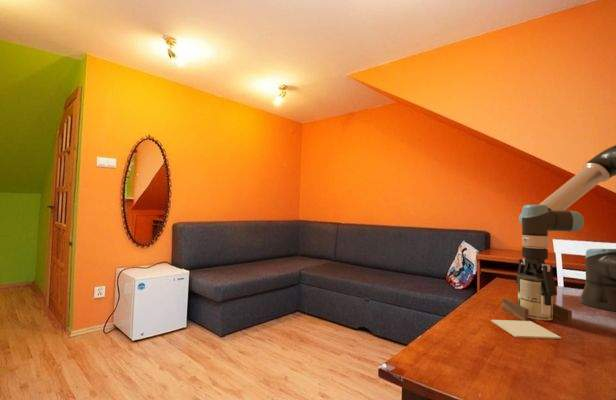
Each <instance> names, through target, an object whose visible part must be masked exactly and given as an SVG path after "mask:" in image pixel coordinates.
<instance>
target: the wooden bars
mask: <svg viewBox="0 0 616 400" xmlns="http://www.w3.org/2000/svg"><path fill="white" fill-rule="evenodd" d="M501 310H504V311H505V312H507V313H509V314H511V315H513V316H515V317H516V318H518V319H520V320H521V321H530V318H529V310H528V309H526V308H524V307H522V306H520V305H518V303H516V302H514V301H512V300H509V299H508V298H503V297H502V298H501ZM553 318H557V319H559V320H561V321H563V322H565V323H568V324H572V323H573V312H572V310H571V309H567V308H565V307H563V306H560V305H558V304H556V303H553Z"/></svg>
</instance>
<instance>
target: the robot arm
mask: <svg viewBox="0 0 616 400" xmlns="http://www.w3.org/2000/svg"><path fill="white" fill-rule="evenodd" d="M614 177H616V144H615V145H613V146H610V147H608V148H606V149H604V150H603V151H601V152H600V153H598V154H596V155H595V156H594V157H592V158H590V159H589V160H588V161H587V162H586V163H585V164H583V166H582V167H581V169H580V171H579V172H577V173H576V174H575V175H574V176H572V177H571V178H570V179H568V180H567V181H566V182H565V183H564V184H562V185H561V186H560V187H559V188H558V189H555V191H554V192H553V193H551V194H550V195H549V196H547V197H546V198H545V199H544V200H543V201H541V202H539V204H524V205H523V206H522V210H521V213H520V214H519V216H518V221H519V224H520V225H521V233H522V236H521V237H522V238H521V240H522V241H521V244H522V246H523V247H521V257H522V258H520V259H518V267H517V268H518V269H517V272H516V273H517V274H520V273H523V274H525V275H533V274H534V275H535V276H536V277H537V279H544V282H545V283H542V282H541V290H542V293H543V294H541V314H543V315H551V296H557V295H558V292H557V288H556V283H555V278H554V275H553V269H554V267H553V265H551V264H550V265H549V264H546V262H545V261H546V260H547V259H549V249H548V247H549V232H569V233H571V232H578V231H580V230H582V229H583V228H584V225H585V218H584V215H583V214H581V213H580V212H579V211H576V210H575V211H574V210H570V209H569V210H567V209H568V208H569V207H571V206H573V204H575V203H576V202H577V201H579V199H581V198H582V197H584V195H586V194H587V193H588V192H590V191H591V190H592V189H594V188H595V187H596V186H597V185H599V184H600V183H604V182H606V181H608V180H610V179H611V178H614ZM584 262H585V265H584V267H585V285H584V287H583V290H582V292H581V295H580V297H579V299H580V300H579V301H580V302H581V304H584V305H586V306H589V307H592V308H596V309H600V310H606V311H614V312H616V248H589V249H587V250H586V251H585V257H584ZM517 274H516V279H515V283H516V284H518V276H517Z"/></svg>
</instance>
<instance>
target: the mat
mask: <svg viewBox="0 0 616 400" xmlns="http://www.w3.org/2000/svg"><path fill="white" fill-rule="evenodd" d="M490 322H492V323H493V324H495V325H496V326H498V327H499V328H501V329H502V330H504V331H506V332H507V333H509V334H510V335H512V337H515V338H523V339H524V338H525V339H527V338H529V339H551V340H552V339H553V340H562V336H560V335H558V334H556V333H554V332H552V331H550V330H549V329H547V328H545V327H542V326H541V325H538V324H537V323H535V322H534V321H531V320H529V321H523V320H514V319H513V320H512V319H510V320H508V319H491V320H490Z"/></svg>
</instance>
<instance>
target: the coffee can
mask: <svg viewBox="0 0 616 400" xmlns="http://www.w3.org/2000/svg"><path fill="white" fill-rule="evenodd" d="M517 276H518V283H517V304H518V305H520V306H522V307H524V308H526V309H528V310H529V319H532V320H537V321H552V320H554V316H553V304H554V300H553V296H551V315H543V314H541V294H543V293H542V290H541V282H542V283H545V282H544V279H537V277H536V276H535V275H534V273H533V275H525V274H523V273H520V274H516V277H517Z"/></svg>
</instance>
